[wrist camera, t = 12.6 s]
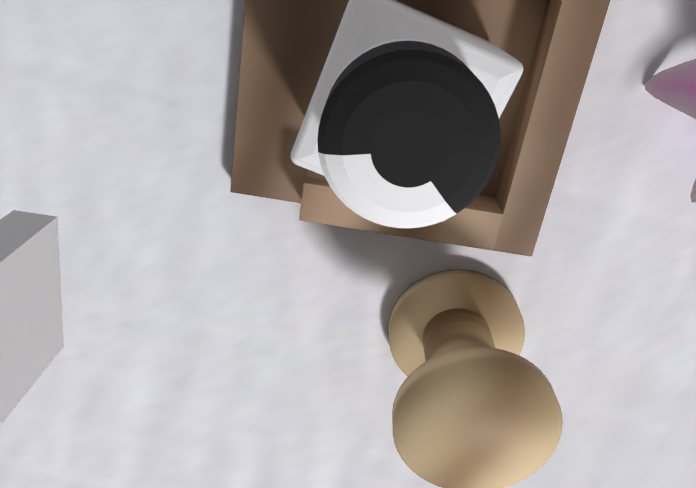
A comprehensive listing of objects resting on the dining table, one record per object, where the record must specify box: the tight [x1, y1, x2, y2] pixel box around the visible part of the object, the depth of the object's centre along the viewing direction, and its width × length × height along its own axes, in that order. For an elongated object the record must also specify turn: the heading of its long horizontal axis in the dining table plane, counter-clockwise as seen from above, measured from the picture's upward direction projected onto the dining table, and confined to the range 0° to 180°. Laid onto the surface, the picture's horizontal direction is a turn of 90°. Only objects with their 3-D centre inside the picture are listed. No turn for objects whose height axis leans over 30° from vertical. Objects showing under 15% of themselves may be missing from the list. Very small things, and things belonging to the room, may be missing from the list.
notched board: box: [230, 0, 610, 256], centre depth 30 cm, size 16×14×4 cm
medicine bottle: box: [290, 0, 523, 228], centre depth 25 cm, size 7×7×12 cm
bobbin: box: [389, 270, 562, 488], centre depth 34 cm, size 8×8×9 cm
